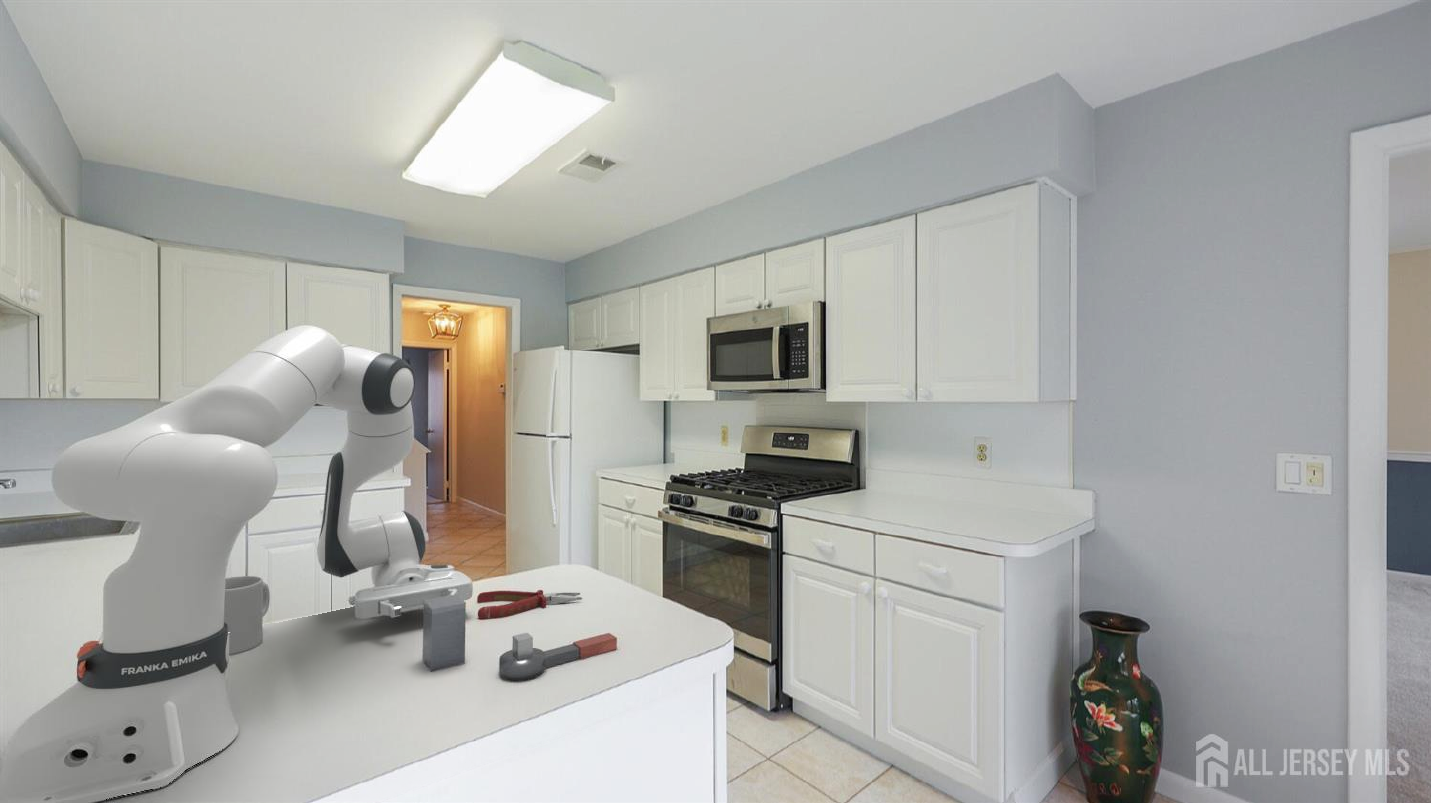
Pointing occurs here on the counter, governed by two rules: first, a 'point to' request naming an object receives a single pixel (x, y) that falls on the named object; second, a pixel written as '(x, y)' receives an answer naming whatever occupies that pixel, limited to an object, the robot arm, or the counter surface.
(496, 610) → the pliers
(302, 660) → the counter surface
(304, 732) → the counter surface
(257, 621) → the mug
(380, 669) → the counter surface
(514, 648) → the ratchet
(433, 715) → the counter surface
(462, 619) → the grey square pillar
